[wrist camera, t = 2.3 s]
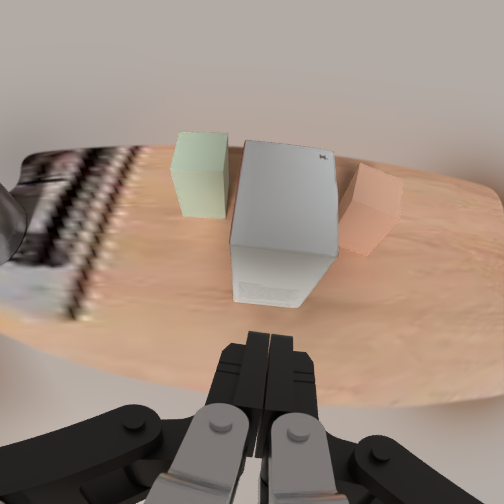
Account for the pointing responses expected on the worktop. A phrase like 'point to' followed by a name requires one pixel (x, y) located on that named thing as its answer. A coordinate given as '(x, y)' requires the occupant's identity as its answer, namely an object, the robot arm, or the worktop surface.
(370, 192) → the terracotta block
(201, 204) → the sage block
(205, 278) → the worktop surface
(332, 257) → the small box
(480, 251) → the worktop surface
